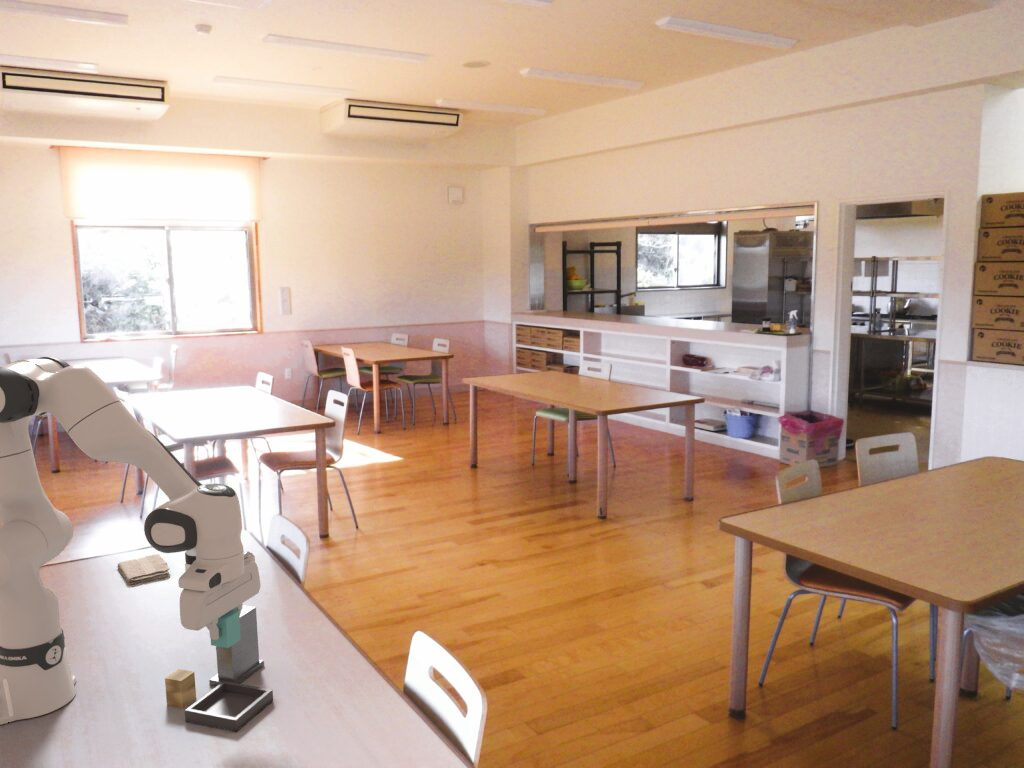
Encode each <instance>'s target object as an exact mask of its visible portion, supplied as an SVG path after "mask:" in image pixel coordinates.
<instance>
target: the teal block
mask: <svg viewBox="0 0 1024 768" xmlns="http://www.w3.org/2000/svg"><path fill="white" fill-rule="evenodd" d="M216 625H217V627H218V628H221V629H222V636H221V637H220V638H219V639H217V640H213V639H211V638H210V646H213V647H216V646H218V647H224V648H229V647H230V646H232V645H233V644H235V643H236V642H238V641H239V640H240V639H241V635H240V619H239V611H235V610H231V611H229V612H227V613H226V614H224V615H223V616H221V617H220V618H218V623H217V624H216Z"/></svg>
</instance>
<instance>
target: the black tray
mask: <svg viewBox="0 0 1024 768" xmlns="http://www.w3.org/2000/svg"><path fill="white" fill-rule="evenodd" d="M272 701H273V702H274V690H273V689H269V688H265V687H260V686H259V687H258V686H255V685H249V684H243V683H241V684H238V683H232V682H227V681H223V682H222V683H221V684H219V685H218V686H214V688H212V689H211V690H209V691H208V692H207V693H206V694H204V695H203V696H201V697H200V698H198V700H197V701H196V700H195V702H194V703H192V704H191V705H190V706H188V707H187V708H186V709H185V710H184V717H185V718H184V719H185V723H189V724H193V725H194V724H195V725H199V726H204V727H209V728H214V729H219V730H223V731H228V732H229V731H230V732H234V733H238V731H240V730H241V729H242V728H244V727H245V726H246V725H247V724H248V723H249V722H250V721H252V720H253V719H254V718H256V716H258V715H259V713H261V712H262V711H263V710H265V709H266V708H267V707H268V706H269V705H270V704H272V703H273V702H272Z"/></svg>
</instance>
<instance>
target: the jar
mask: <svg viewBox="0 0 1024 768" xmlns="http://www.w3.org/2000/svg"><path fill="white" fill-rule="evenodd" d="M184 558H185V563H184V568H185V569H184V571H185V572H186V571H187V569H188V568H189V567H190V566H191V565H192V563H193V562H194V561H195V560H196V552H195V550H193V549H190V550H187V551H184Z"/></svg>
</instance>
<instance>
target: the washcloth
mask: <svg viewBox="0 0 1024 768" xmlns="http://www.w3.org/2000/svg"><path fill="white" fill-rule="evenodd" d="M116 568H118V570H119V572H120V573H121V575H122V577H124V579H125V580H126V583H127V585H128V586H132V585H140V584H145V583H149V582H155V581H160V580H163V578H164V579H167V578H170V577H171V574H170V573H169V570H170V567H169V565H168V562H167V561H165V559H164V558H163V557H162V556H161V555H160V554H159V553H157V554H152V555H146V556H144V557H140V558H137V559H130V560H125V561H121V562H120V561H119V562H118V563H117V566H116Z"/></svg>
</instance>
